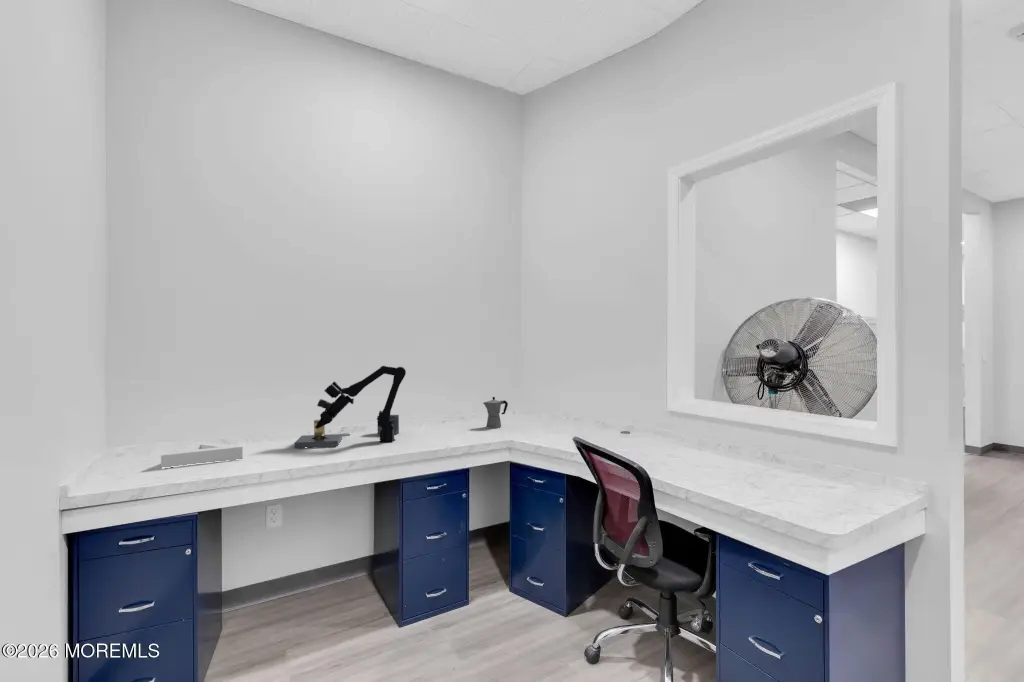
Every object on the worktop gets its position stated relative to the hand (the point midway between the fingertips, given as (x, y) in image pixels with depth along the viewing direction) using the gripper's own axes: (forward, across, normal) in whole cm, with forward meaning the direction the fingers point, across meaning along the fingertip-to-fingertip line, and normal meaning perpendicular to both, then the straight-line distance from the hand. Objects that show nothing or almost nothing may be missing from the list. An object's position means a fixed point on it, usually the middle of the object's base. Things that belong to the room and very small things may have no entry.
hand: (316, 427), depth 266 cm
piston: (+4, 0, +6) cm, 7 cm away
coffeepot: (-62, -30, +75) cm, 101 cm away
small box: (-18, -21, +31) cm, 41 cm away
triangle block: (+34, +26, -22) cm, 49 cm away
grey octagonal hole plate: (+5, 0, +7) cm, 9 cm away
